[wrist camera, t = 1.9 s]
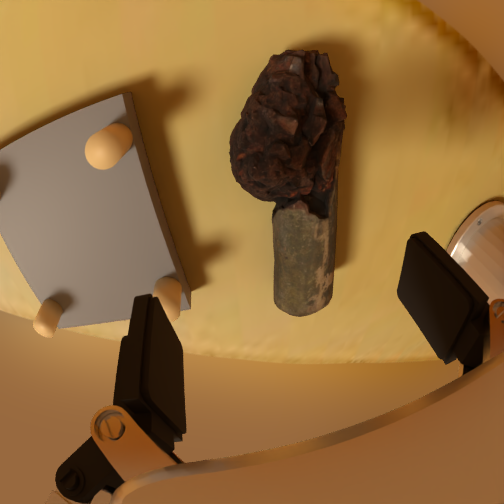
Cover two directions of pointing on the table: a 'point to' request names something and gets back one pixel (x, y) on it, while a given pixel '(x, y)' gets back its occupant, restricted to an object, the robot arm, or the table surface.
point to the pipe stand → (88, 219)
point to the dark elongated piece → (295, 171)
